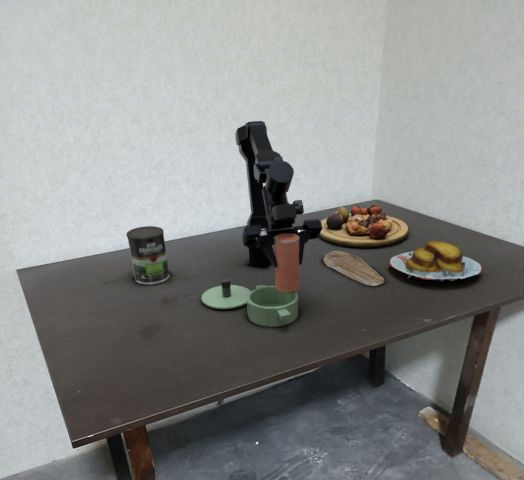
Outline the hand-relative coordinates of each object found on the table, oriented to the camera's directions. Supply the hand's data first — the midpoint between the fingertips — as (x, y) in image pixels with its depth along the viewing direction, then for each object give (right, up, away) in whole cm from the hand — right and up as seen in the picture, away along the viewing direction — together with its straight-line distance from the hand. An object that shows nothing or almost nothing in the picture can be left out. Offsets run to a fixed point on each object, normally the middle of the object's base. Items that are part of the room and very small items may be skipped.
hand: (288, 265), depth 114 cm
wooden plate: (+29, +21, +57) cm, 67 cm away
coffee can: (-39, +1, +30) cm, 49 cm away
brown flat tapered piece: (+21, +4, +30) cm, 37 cm away
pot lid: (-16, -6, +16) cm, 23 cm away
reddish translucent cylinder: (0, -5, +5) cm, 7 cm away
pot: (-3, -11, +8) cm, 14 cm away
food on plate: (+44, +3, +27) cm, 51 cm away
